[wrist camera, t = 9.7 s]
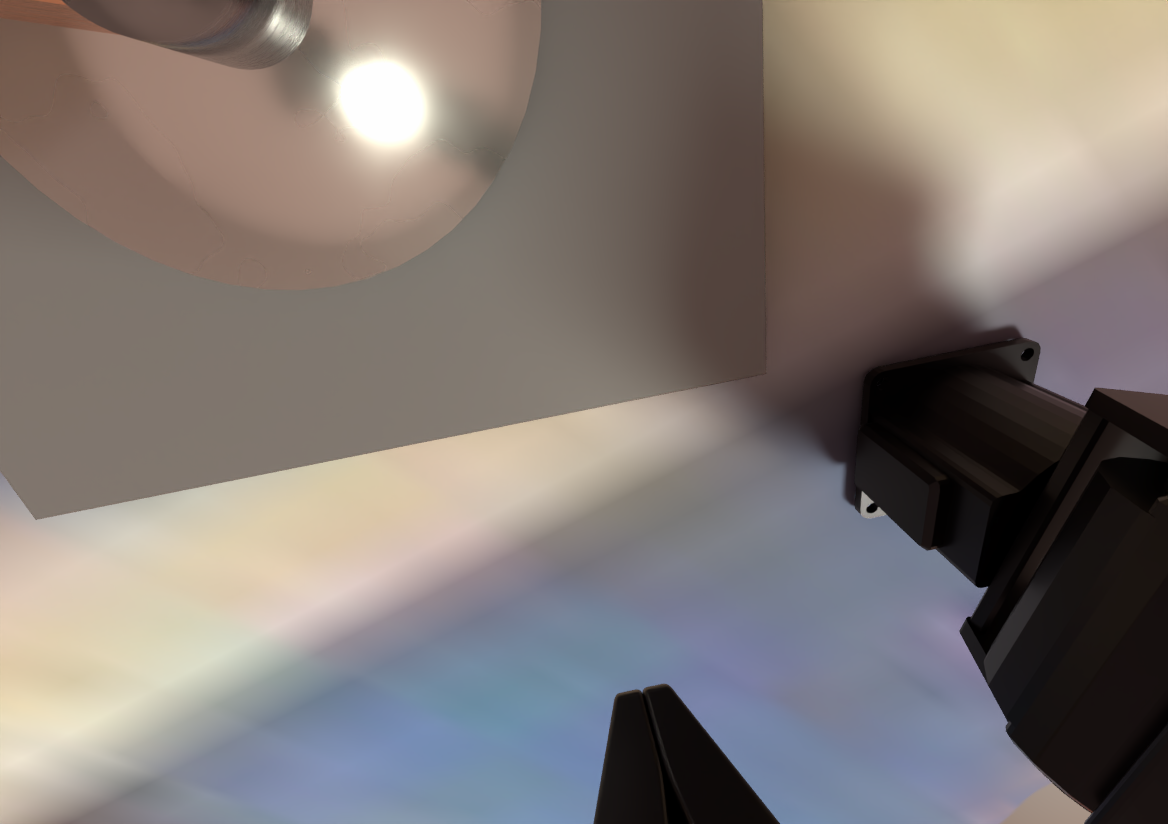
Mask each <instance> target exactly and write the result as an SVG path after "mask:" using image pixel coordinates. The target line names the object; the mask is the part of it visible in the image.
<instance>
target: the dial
mask: <svg viewBox="0 0 1168 824" xmlns="http://www.w3.org/2000/svg"><path fill="white" fill-rule="evenodd" d="M540 33H541V0H0V156H2V157H3V158H4V159H5V160H6V161H7V162H8V163H9V164H10V165H12V166H13V167H14V168H15V169H16V170H17V171H18V172H19V173H20V174H21V175H23V176H24V177H25V178H26V179H27V180H28V181H29V182H30V183H31V184H33V185H34V186H35V187H36V188H37V189H38V190H39V191H41V192H42V193H43V194H45V195H46V196H47V197H49V198H50V199H51V200H53V201H54V202H55V203H57V204H58V205H59V206H61V207H62V208H63V209H65V210H66V211H67V212H69V213H70V214H71V215H73V216H74V217H75V218H77V219H78V220H80V221H82V222H83V223H85V224H87V225H88V226H90V227H92V228H93V229H95V230H96V231H98V232H100V233H101V234H103V235H105V236H106V237H108V238H109V239H111V240H113V241H114V242H116V243H118V244H120V245H122V246H124V247H126V248H128V249H130V250H133V251H135V252H137V253H139V254H141V255H143V256H145V257H147V258H149V259H151V260H153V261H155V262H158V263H161V264H164V265H166V266H169V267H172V268H174V269H177V270H180V271H183V272H185V273H188V274H191V275H194V276H198V277H202V278H206V279H210V280H214V281H218V282H222V283H226V284H230V285H237V286H244V287H252V288H259V289H267V290H307V289H316V288H325V287H334V286H339V285H343V284H347V283H351V282H355V281H359V280H364V279H368V278H370V277H373V276H375V275H378V274H380V273H383V272H385V271H388V270H390V269H393V268H395V267H398V266H400V265H401V264H403V263H405V262H407V261H408V260H410V259H412V258H414V257H415V256H417V255H419V254H421V253H422V252H424V251H426V250H427V249H429V248H430V247H431V246H432V245H434V244H435V243H436V242H438V241H439V240H440V239H441V238H443V237H444V236H445V235H447V234H448V233H449V232H450V231H452V230H453V229H454V228H455V227H456V226H457V224H458V223H459V222H460V221H461V220H462V219H463V218H464V217H465V216H466V215H467V214H468V213H469V212H470V211H471V210H472V209H473V208H474V207H475V206H476V204H477V203H478V202H479V200H480V199H481V197H482V196H483V195H484V193H485V192H486V191H487V189H488V188H489V186H490V185H491V184H492V182H493V181H494V180H495V178H496V176H497V174H498V172H499V171H500V169H501V167H502V165H503V163H504V161H505V159H506V158H507V156H508V154H509V152H510V150H511V148H512V146H513V144H514V141H515V138H516V136H517V133H518V131H519V128H520V125H521V123H522V120H523V117H524V115H525V112H526V109H527V105H528V101H529V97H530V93H531V88H532V84H533V80H534V76H535V72H536V65H537V57H538V49H539V41H540Z"/></svg>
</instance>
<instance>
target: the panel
mask: <svg viewBox="0 0 1168 824" xmlns="http://www.w3.org/2000/svg"><path fill="white" fill-rule="evenodd" d="M762 374H766V300H765V203H764V105H763V8H762V0H541V33H540V41H539V49H538V57H537V65H536V72H535V76H534V80H533V84H532V88H531V93H530V97H529V101H528V105H527V109H526V112H525V115H524V117H523V120H522V123H521V125H520V128H519V131H518V133H517V136H516V138H515V141H514V144H513V146H512V148H511V150H510V152H509V154H508V156H507V158H506V159H505V161H504V163H503V165H502V167H501V169H500V171H499V172H498V174H497V176H496V178H495V180H494V181H493V182H492V184H491V185H490V186H489V188H488V189H487V191H486V192H485V193H484V195H483V196H482V197H481V199H480V200H479V202H478V203H477V204H476V206H475V207H474V208H473V209H472V210H471V211H470V212H469V213H468V214H467V215H466V216H465V217H464V218H463V219H462V220H461V221H460V222H459V223H458V224H457V226H456V227H455V228H454V229H453V230H452V231H450V232H449V233H448V234H447V235H445V236H444V237H443V238H441V239H440V240H439V241H438V242H436V243H435V244H434V245H432V246H431V247H430V248H429V249H427V250H426V251H424V252H422V253H421V254H419V255H417V256H415V257H414V258H412V259H410V260H408V261H407V262H405V263H403V264H401V265H400V266H398V267H395V268H393V269H390V270H388V271H385V272H383V273H380V274H378V275H375V276H373V277H370V278H368V279H364V280H359V281H355V282H351V283H347V284H343V285H339V286H334V287H325V288H316V289H307V290H267V289H259V288H252V287H244V286H237V285H230V284H226V283H222V282H218V281H214V280H210V279H206V278H202V277H198V276H194V275H191V274H188V273H185V272H183V271H180V270H177V269H174V268H172V267H169V266H166V265H164V264H161V263H158V262H155V261H153V260H151V259H149V258H147V257H145V256H143V255H141V254H139V253H137V252H135V251H133V250H130V249H128V248H126V247H124V246H122V245H120V244H118V243H116V242H114V241H113V240H111V239H109V238H108V237H106V236H105V235H103V234H101V233H100V232H98V231H96V230H95V229H93V228H92V227H90V226H88V225H87V224H85V223H83V222H82V221H80V220H78V219H77V218H75V217H74V216H73V215H71V214H70V213H69V212H67V211H66V210H65V209H63V208H62V207H61V206H59V205H58V204H57V203H55V202H54V201H53V200H51V199H50V198H49V197H47V196H46V195H45V194H43V193H42V192H41V191H39V190H38V189H37V188H36V187H35V186H34V185H33V184H31V183H30V182H29V181H28V180H27V179H26V178H25V177H24V176H23V175H21V174H20V173H19V172H18V171H17V170H16V169H15V168H14V167H13V166H12V165H10V164H9V163H8V162H7V161H6V160H5V159H4V158H3V157H2V156H0V471H1V473H2V474H3V475H4V477H5V478H6V479H7V481H8V482H9V484H10V485H11V486H12V488H13V489H14V490H15V492H16V493H17V495H18V496H19V497H20V499H21V500H22V501H23V503H24V504H25V506H26V507H27V508H28V510H29V511H30V513H31V514H32V515H33V517H34V518H35V519H36V520H37V519H42V518H47V517H52V516H57V515H62V514H67V513H72V512H77V511H82V510H87V509H92V508H97V507H102V506H107V505H112V504H117V503H122V502H127V501H132V500H137V499H142V498H147V497H152V496H157V495H162V494H167V493H172V492H177V491H182V490H187V489H192V488H197V487H202V486H207V485H212V484H217V483H222V482H227V481H232V480H237V479H242V478H247V477H252V476H257V475H262V474H267V473H272V472H277V471H282V470H287V469H292V468H297V467H302V466H307V465H312V464H317V463H322V462H327V461H332V460H337V459H342V458H347V457H352V456H357V455H362V454H367V453H372V452H377V451H382V450H387V449H392V448H397V447H402V446H407V445H412V444H417V443H422V442H427V441H432V440H437V439H442V438H447V437H452V436H457V435H462V434H467V433H472V432H477V431H482V430H487V429H492V428H497V427H502V426H507V425H512V424H517V423H522V422H527V421H532V420H537V419H542V418H547V417H552V416H557V415H562V414H567V413H572V412H577V411H582V410H587V409H592V408H597V407H602V406H607V405H612V404H617V403H622V402H627V401H632V400H637V399H642V398H647V397H652V396H657V395H662V394H667V393H672V392H677V391H682V390H687V389H692V388H697V387H702V386H707V385H712V384H717V383H722V382H727V381H732V380H737V379H742V378H747V377H752V376H757V375H762Z"/></svg>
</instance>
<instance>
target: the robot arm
mask: <svg viewBox="0 0 1168 824" xmlns="http://www.w3.org/2000/svg"><path fill="white" fill-rule="evenodd" d="M1023 351H1024V353H1023V354H1022V352H1023ZM1021 354H1022V355H1021ZM1039 355H1040V346H1039V344H1038V343H1036V342H1035V341H1032V340H1029V339H1026V338H1020V339H1015V340H1010V341H1005V342H1000V343H995V344H990V345H985V346H980V347H975V348H970V349H965V350H960V351H955V352H950V353H945V354H940V355H935V356H930V357H925V358H920V359H915V360H910V361H905V362H900V363H895V364H890V365H886V366H881V367H877V368H874V369H872V370H871V371H870V372H868V374H867V375H866V377H865V380H864V387H863V400H862V414H861V426H860V428H859V430H858V439H857V453H856V467H855V481H854V482H855V485H856V495H855V509H856V510H857V511H858V512H859V513H860V514H861V515H862V516H863V517H865V518H874V517H879V516H884V515H888V516H889V517H890V518H891V519H892V520H893V521H894V522H895V523H896V524H897V525H898V526H899V527H900V528H901V529H902V530H903V531H905V532H906V533H907V534H908V535H909V536H910V537H911V538H912V539H913V540H914V541H915V542H916V543H917V544H918V545H919V546H921V547H922V548H924V549H925V550H932V549H936V550H937V551H938V552H940V553H941V554H942V555H943V556H944V557H945V558H946V559H947V560H948V561H949V562H950V563H951V564H953V565H954V566H955V567H956V568H957V569H958V570H959V571H960V572H961V573H962V574H963V575H964V576H966V577H967V578H968V579H969V580H970V581H971V582H972V583H973V584H974V585H975V586H977V587H978V588H983V587H988V588H987V590H986V592H985V593H984V595H983V597H982V599H981V600H980V602H979V604H978V606H977V608H976V609H975V611H974V613H973V615H972V616H971V617H967V618H966V620H965V622H964V624H963V625H962V627H961V629H960V634H961V636H962V638H963V639H964V641H965V643H966V645H967V647H968V649H969V651H970V652H971V654H972V656H973V658H974V660H975V662H976V664H977V665H978V667H979V669H980V671H981V673H982V675H983V677H984V678H985V680H986V682H987V684H988V686H989V688H990V690H991V691H992V693H993V695H994V697H995V699H996V701H997V703H998V704H999V706H1000V708H1001V710H1002V712H1003V714H1004V716H1005V717H1006V719H1007V721H1008V724H1007V725H1006V732H1007V734H1008V735H1009V737H1010V738H1011V740H1012V742H1013V743H1014V744H1015V745H1016V746H1017V747H1018V748H1019V750H1020V751H1021V752H1022V753H1023V754H1024V755H1025V756H1026V757H1027V758H1028V759H1029V760H1030V761H1031V763H1032V764H1033V765H1034V766H1035V767H1036V768H1037V769H1038V770H1039V771H1040V772H1042V773H1043V774H1044V776H1046V777H1047V778H1048V779H1049V780H1050V781H1051V782H1052V783H1053V784H1054V785H1055V786H1057V787H1058V788H1059V789H1060V790H1061V791H1062V792H1063V793H1064V794H1066V795H1067V796H1068V797H1070V798H1071V799H1072V800H1074V801H1075V802H1076V803H1078V804H1079V805H1080V806H1082V807H1083V808H1085V809H1086V810H1088V811H1089V812H1091V813H1092V814H1091V815H1090V816H1089V817H1088V819H1087V820H1086V821H1085V823H1084V824H1168V395H1163V394H1154V393H1144V392H1134V391H1125V390H1115V389H1105V388H1095V389H1094V391H1093V392H1092V394H1091V396H1090V398H1089V400H1088V401H1087V403H1086V405H1085V406H1083V405H1081V404H1079V403H1076V402H1074V401H1072V400H1070V399H1067V398H1065V397H1063V396H1061V395H1058V394H1056V393H1054V392H1052V391H1049V390H1047V389H1045V388H1043V387H1040V386H1038V385H1036V384H1034V378H1035V373H1036V369H1037V364H1038V360H1039ZM881 378H884V379H883V382H882V383H881V384H880V385H878V386H877V383H878V381H879V380H880V379H881ZM871 503H872V504H871ZM869 504H871V505H870V506H869V507H867V506H868V505H869ZM594 824H780V823H779V822H778V820H777V819H776V818H775V817H774V815H773V814H772V813H771V812H770V810H769V809H768V808H767V807H766V805H765V804H764V803H763V802H762V800H761V799H760V798H759V797H758V795H757V794H756V793H755V792H754V790H753V789H752V788H751V787H750V785H749V784H748V783H747V782H746V780H745V779H744V778H743V777H742V775H741V774H740V773H739V772H738V770H737V769H736V768H735V767H734V765H733V764H732V763H731V762H730V760H729V759H728V758H727V757H726V755H725V754H724V753H723V752H722V750H721V749H720V748H719V747H718V745H717V744H716V743H715V742H714V740H713V739H712V738H711V737H710V735H709V734H708V733H707V732H706V730H705V729H704V728H703V727H702V725H701V724H700V723H699V722H698V720H697V719H696V718H695V716H694V715H693V714H692V713H691V711H690V710H689V709H688V708H687V706H686V705H685V704H684V703H683V701H682V700H681V699H680V698H679V696H678V695H677V694H676V693H675V691H674V690H673V689H672V688H671V687H670V686H669V685H668V684H660V685H655V686H650V687H646V688H644V690H643V694H642V692H641V691H640V690H632V691H627V692H622V693H618V694H617V695H616V697H615V700H614V705H613V711H612V717H611V723H610V729H609V735H608V741H607V747H606V753H605V759H604V764H603V770H602V776H601V782H600V788H599V794H598V800H597V806H596V812H595V818H594Z"/></svg>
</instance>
